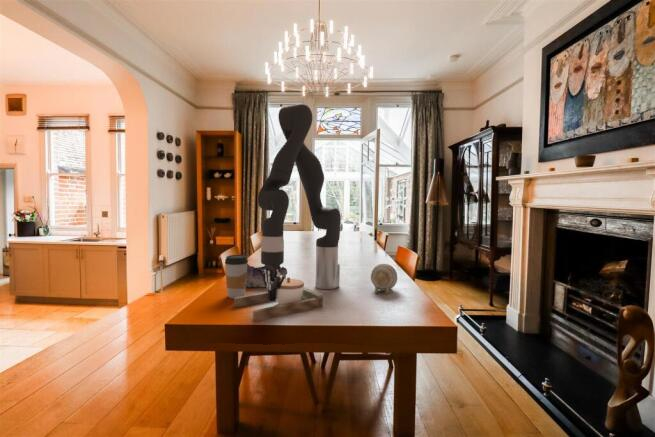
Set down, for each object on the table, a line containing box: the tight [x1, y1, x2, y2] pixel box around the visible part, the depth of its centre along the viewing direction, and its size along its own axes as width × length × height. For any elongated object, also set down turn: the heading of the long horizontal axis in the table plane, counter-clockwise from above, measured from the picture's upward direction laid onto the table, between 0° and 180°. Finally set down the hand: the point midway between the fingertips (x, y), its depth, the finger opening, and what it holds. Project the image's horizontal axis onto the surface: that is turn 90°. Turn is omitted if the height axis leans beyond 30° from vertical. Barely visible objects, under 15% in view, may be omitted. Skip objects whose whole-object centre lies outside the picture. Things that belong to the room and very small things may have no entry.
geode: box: [246, 263, 288, 289], centre depth 139 cm, size 20×12×10 cm, turn 100°
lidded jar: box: [275, 276, 305, 305], centre depth 115 cm, size 11×11×9 cm
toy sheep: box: [370, 263, 398, 295], centre depth 134 cm, size 11×17×11 cm, turn 165°
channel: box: [233, 286, 324, 322], centre depth 113 cm, size 25×17×4 cm
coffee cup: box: [224, 254, 249, 299], centre depth 123 cm, size 8×8×15 cm
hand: (271, 300), depth 111 cm, fingers closed
